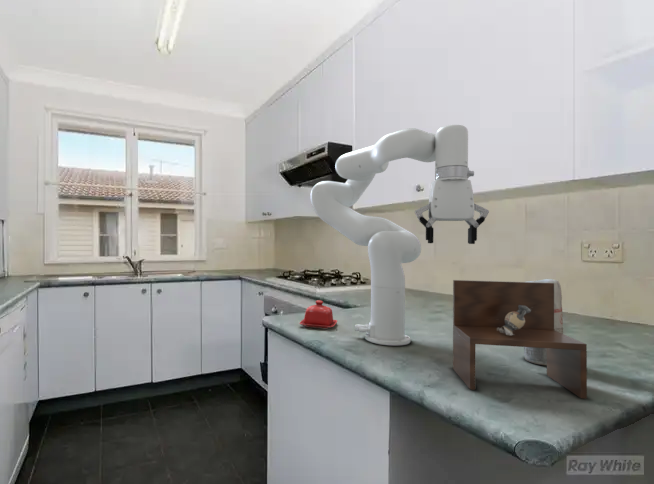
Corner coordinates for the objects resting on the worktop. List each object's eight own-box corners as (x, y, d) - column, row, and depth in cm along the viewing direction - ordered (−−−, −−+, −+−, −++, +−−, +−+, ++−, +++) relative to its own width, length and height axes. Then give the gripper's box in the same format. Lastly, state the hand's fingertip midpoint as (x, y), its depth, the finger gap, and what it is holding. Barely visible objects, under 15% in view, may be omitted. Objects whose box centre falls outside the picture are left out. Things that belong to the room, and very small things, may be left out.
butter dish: (338, 323, 129) (338, 298, 129) (333, 331, 118) (333, 304, 118) (306, 320, 133) (306, 297, 133) (298, 328, 122) (298, 301, 122)
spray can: (546, 369, 84) (546, 280, 85) (514, 358, 92) (514, 277, 93) (574, 366, 87) (573, 280, 87) (540, 355, 95) (540, 276, 95)
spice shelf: (469, 389, 72) (470, 286, 72) (452, 368, 84) (453, 279, 84) (587, 398, 68) (586, 289, 69) (551, 375, 80) (551, 282, 81)
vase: (524, 332, 77) (524, 303, 77) (537, 339, 72) (537, 307, 72) (496, 330, 78) (496, 302, 78) (507, 337, 73) (507, 306, 73)
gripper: (483, 177, 96) (482, 244, 96) (412, 178, 99) (412, 243, 99) (494, 172, 89) (493, 244, 89) (418, 173, 92) (417, 243, 92)
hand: (450, 243), depth 94 cm, fingers open, 9 cm apart
